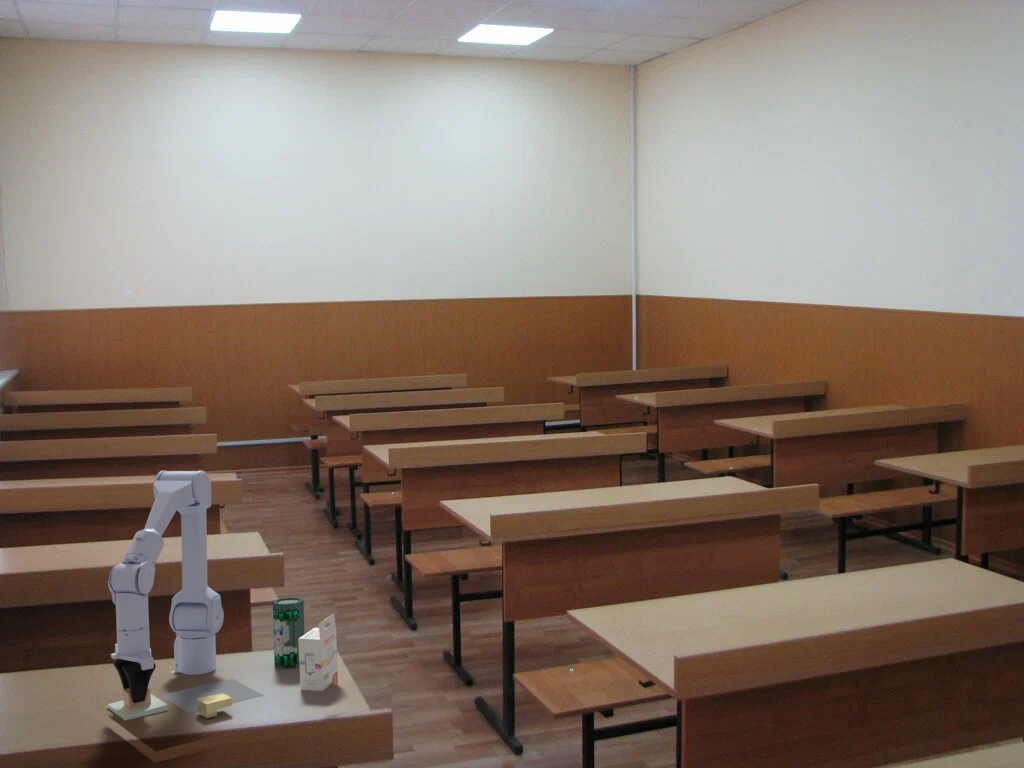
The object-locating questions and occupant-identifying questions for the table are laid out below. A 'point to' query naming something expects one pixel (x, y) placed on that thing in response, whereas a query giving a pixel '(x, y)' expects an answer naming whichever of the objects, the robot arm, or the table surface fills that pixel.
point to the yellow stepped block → (212, 704)
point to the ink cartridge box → (318, 657)
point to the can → (287, 631)
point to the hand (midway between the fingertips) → (135, 699)
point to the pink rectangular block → (137, 706)
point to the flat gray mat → (229, 687)
